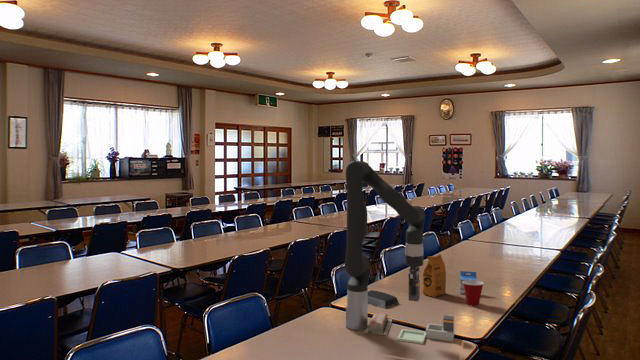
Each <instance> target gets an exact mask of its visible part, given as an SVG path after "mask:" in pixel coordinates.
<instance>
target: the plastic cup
mask: <svg viewBox="0 0 640 360" xmlns="http://www.w3.org/2000/svg"><path fill="white" fill-rule="evenodd" d="M462 283H463V285H464V289H465V294H464V295H465V298H466V304H467V305H468V306H470V305H472V306H471V307H478V306H479V304H480V300H481V296H482V291H483V286H484V285H485V283H484V282H483V281H479V280H477V281H472V280H466V281H462ZM477 305H478V306H477Z"/></svg>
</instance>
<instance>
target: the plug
mask: <svg viewBox="0 0 640 360" xmlns="http://www.w3.org/2000/svg"><path fill="white" fill-rule="evenodd" d="M420 282H421V281H420V279H419V280H418V281H417V282H416V296H411V295H410V286H409V282H408V302H409V301H410V302H419V300H420V299H421V297H420V293H421V292H420V288H421V286H420V284H421V283H420ZM412 284H414V282H412Z"/></svg>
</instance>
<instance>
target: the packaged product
mask: <svg viewBox="0 0 640 360" xmlns="http://www.w3.org/2000/svg"><path fill="white" fill-rule="evenodd" d="M388 317H389V315H388V314H387V313H385V312H380V313H375V314H373V315H372V317H371V319H370V321H369V322H368V327H367V328H366V329H364V333H363V334H373V335H381V336H387V335H388V334H389V333H388V332H389V331H390V328H391V325H392V322H393V319H391V318H388Z"/></svg>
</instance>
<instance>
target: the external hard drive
mask: <svg viewBox="0 0 640 360" xmlns="http://www.w3.org/2000/svg"><path fill="white" fill-rule="evenodd" d="M370 304H372V305H371V306H374V305H375V307H377V306H379V307H378V308H381V307H382V308H381V309H387V308H390V307H393V306H395V304H396V305H398V304H399V300H398V298H397V297H396V296H394V295H392V294H389V293H386V292H382V291H378V290H374V289H373V290H368V305H370ZM392 305H393V306H392ZM389 306H390V307H389Z"/></svg>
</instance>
